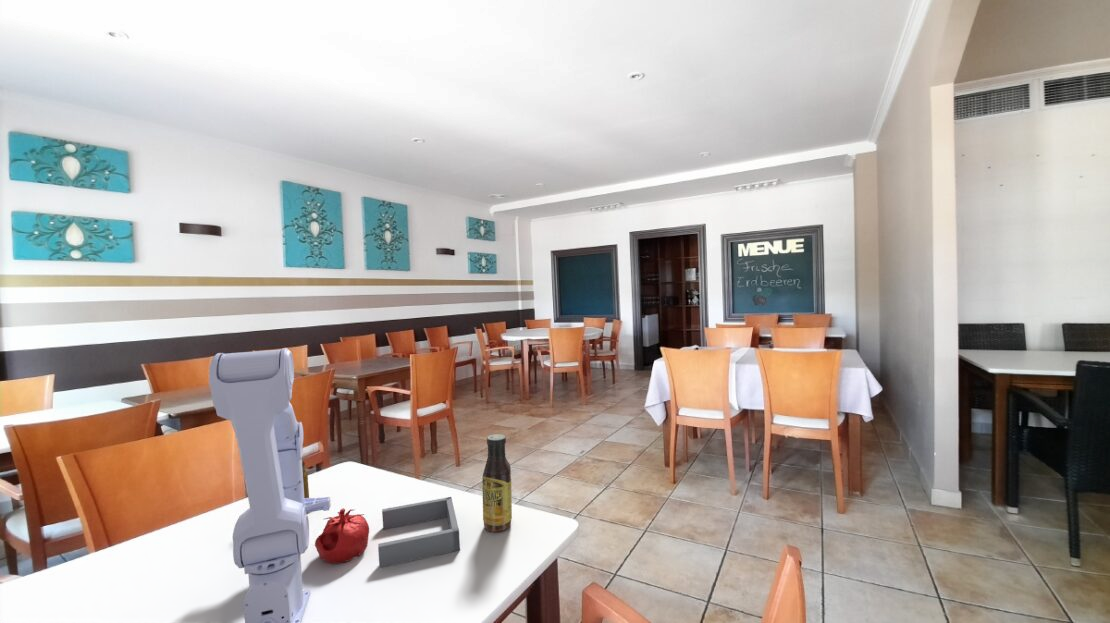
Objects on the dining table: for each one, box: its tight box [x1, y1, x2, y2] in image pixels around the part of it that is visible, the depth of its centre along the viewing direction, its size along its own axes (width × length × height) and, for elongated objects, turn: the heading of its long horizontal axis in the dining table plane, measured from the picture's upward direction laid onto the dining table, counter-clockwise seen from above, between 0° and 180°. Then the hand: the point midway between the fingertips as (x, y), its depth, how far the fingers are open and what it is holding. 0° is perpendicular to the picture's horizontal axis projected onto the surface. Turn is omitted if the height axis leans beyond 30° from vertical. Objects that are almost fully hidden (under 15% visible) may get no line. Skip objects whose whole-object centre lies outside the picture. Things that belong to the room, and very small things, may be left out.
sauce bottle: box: [481, 433, 513, 533], centre depth 97 cm, size 7×6×20 cm
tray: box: [377, 496, 461, 569], centre depth 94 cm, size 16×15×4 cm
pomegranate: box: [314, 507, 370, 564], centre depth 89 cm, size 10×10×9 cm
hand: (291, 552), depth 87 cm, fingers closed
